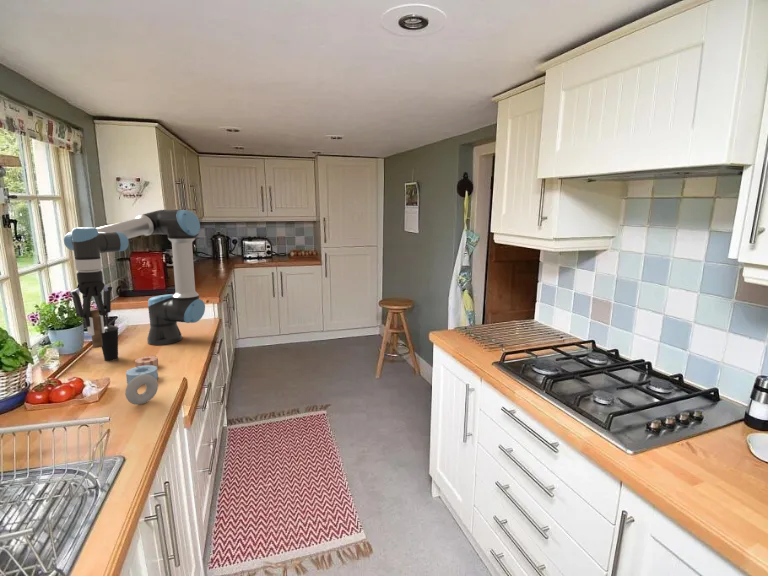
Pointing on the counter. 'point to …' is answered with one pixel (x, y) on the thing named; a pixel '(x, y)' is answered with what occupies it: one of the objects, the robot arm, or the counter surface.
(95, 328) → the dowel
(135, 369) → the blue thick ring
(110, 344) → the drinking cup
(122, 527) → the counter surface
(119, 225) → the robot arm
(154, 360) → the bead
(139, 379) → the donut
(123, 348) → the counter surface
